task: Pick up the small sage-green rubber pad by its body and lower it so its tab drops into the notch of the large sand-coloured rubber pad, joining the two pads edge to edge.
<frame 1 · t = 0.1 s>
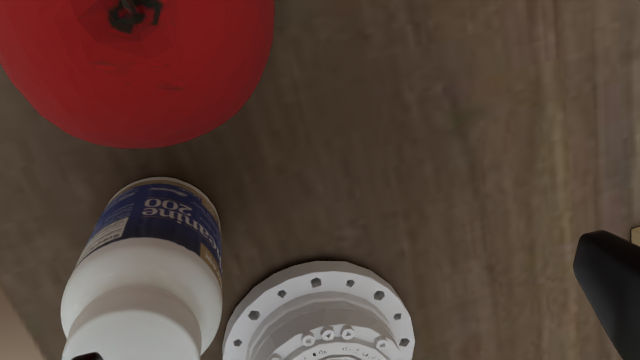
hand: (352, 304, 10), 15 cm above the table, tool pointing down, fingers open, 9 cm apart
mechanical component: (316, 337, 29), on the table
apple: (151, 0, 22), on the table
pill bottle: (162, 225, 25), on the table
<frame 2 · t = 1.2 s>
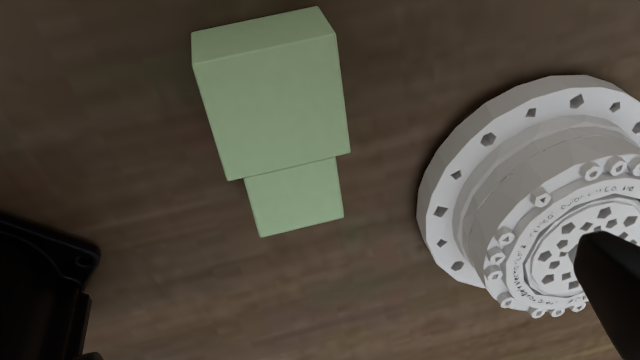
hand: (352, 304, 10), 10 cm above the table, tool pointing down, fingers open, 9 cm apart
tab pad: (267, 77, 18), on the table
mechanical component: (523, 178, 23), on the table
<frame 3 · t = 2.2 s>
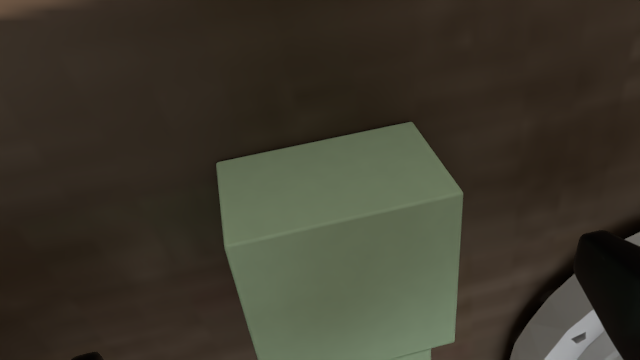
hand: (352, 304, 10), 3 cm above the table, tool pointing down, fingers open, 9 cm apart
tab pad: (326, 217, 12), on the table
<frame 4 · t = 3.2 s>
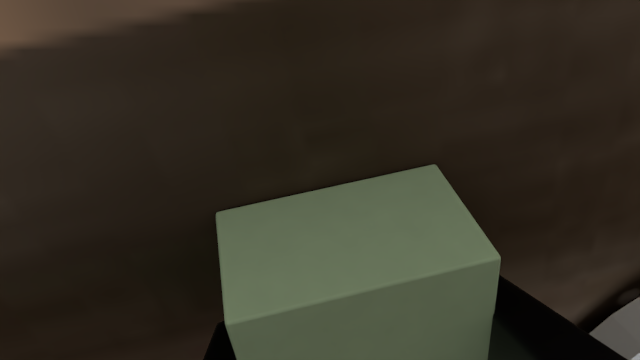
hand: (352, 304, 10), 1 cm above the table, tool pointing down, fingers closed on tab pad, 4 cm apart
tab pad: (338, 266, 11), on the table, touching gripper
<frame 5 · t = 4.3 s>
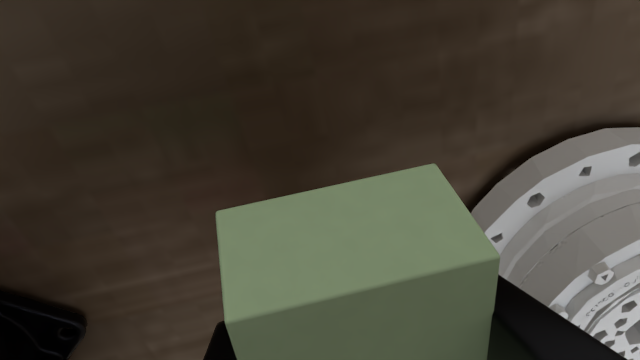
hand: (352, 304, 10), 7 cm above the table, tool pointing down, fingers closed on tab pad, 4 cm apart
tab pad: (337, 265, 11), point 6 cm above the table, touching gripper
mechanical component: (563, 234, 21), on the table
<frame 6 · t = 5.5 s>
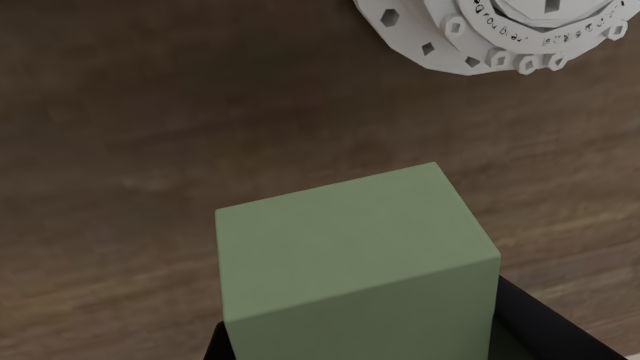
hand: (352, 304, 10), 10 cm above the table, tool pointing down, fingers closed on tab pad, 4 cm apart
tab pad: (337, 264, 11), point 9 cm above the table, touching gripper
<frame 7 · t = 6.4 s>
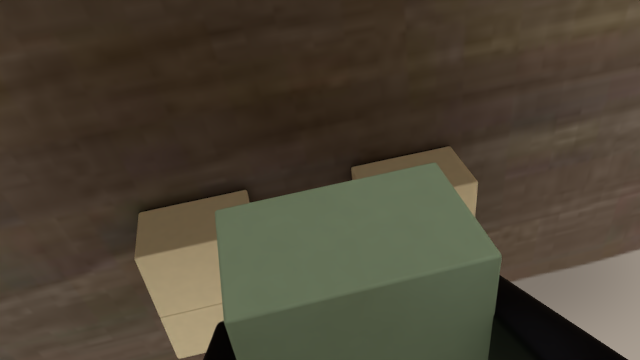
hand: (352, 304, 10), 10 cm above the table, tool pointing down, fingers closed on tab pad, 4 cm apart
dock pad: (311, 253, 23), on the table
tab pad: (337, 265, 11), point 9 cm above the table, touching gripper
when the fingers open (1 cm above the table, at t = 9.3 s): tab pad stays where it is, on the table.
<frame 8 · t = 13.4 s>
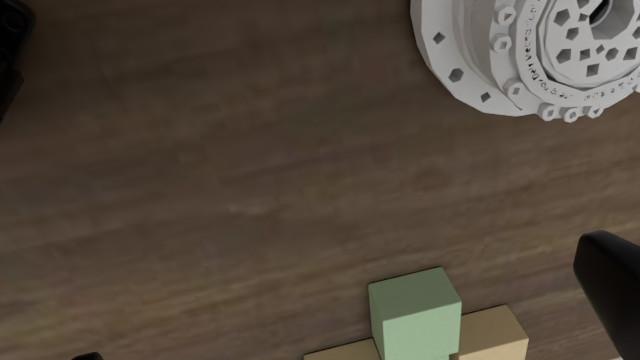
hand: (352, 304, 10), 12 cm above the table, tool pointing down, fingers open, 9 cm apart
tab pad: (405, 300, 29), on the table
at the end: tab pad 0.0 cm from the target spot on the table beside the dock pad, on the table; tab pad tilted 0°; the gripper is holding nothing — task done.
